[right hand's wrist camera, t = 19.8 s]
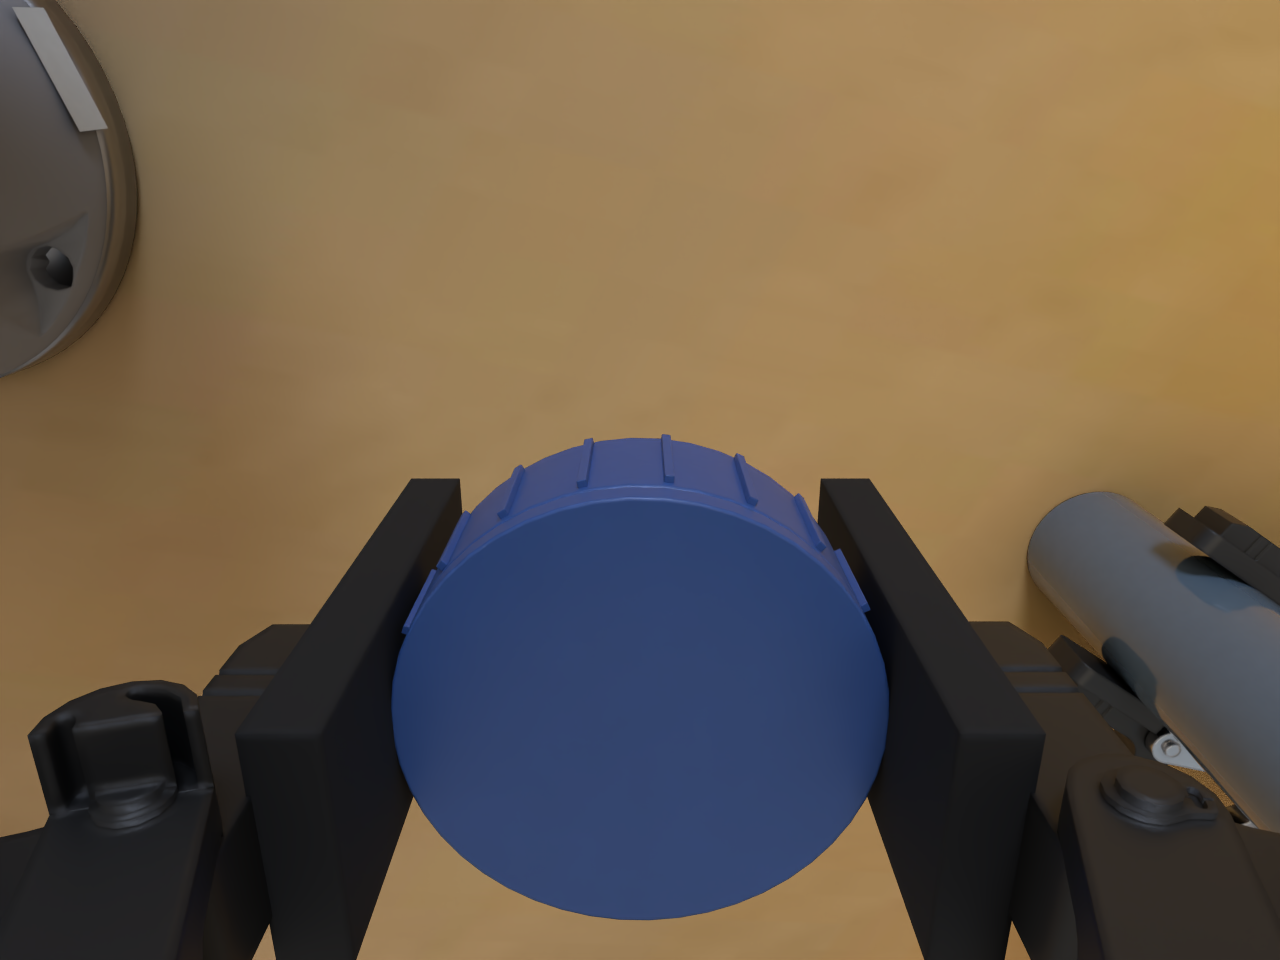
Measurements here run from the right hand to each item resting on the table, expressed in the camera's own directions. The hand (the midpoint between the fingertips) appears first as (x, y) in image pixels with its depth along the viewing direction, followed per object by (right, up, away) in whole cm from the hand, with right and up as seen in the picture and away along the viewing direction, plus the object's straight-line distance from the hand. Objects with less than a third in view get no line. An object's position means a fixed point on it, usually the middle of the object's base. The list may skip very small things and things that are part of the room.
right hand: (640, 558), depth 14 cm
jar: (+18, -1, +21) cm, 28 cm away
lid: (0, -1, -4) cm, 4 cm away
